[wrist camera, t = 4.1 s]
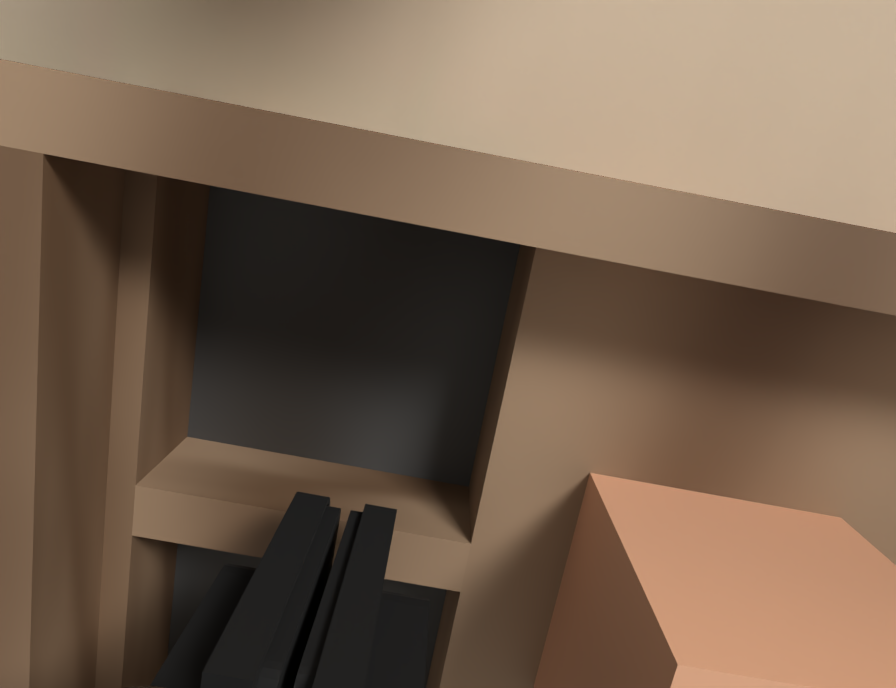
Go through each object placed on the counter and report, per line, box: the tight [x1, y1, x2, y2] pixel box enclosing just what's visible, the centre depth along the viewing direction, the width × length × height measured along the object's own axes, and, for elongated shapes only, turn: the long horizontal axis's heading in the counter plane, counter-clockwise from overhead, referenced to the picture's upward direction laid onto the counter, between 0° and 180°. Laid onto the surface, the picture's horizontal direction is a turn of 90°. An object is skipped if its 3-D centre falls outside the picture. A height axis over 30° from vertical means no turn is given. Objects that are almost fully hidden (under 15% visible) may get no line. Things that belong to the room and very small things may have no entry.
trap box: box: [0, 59, 896, 688], centre depth 12 cm, size 23×14×4 cm, turn 79°
